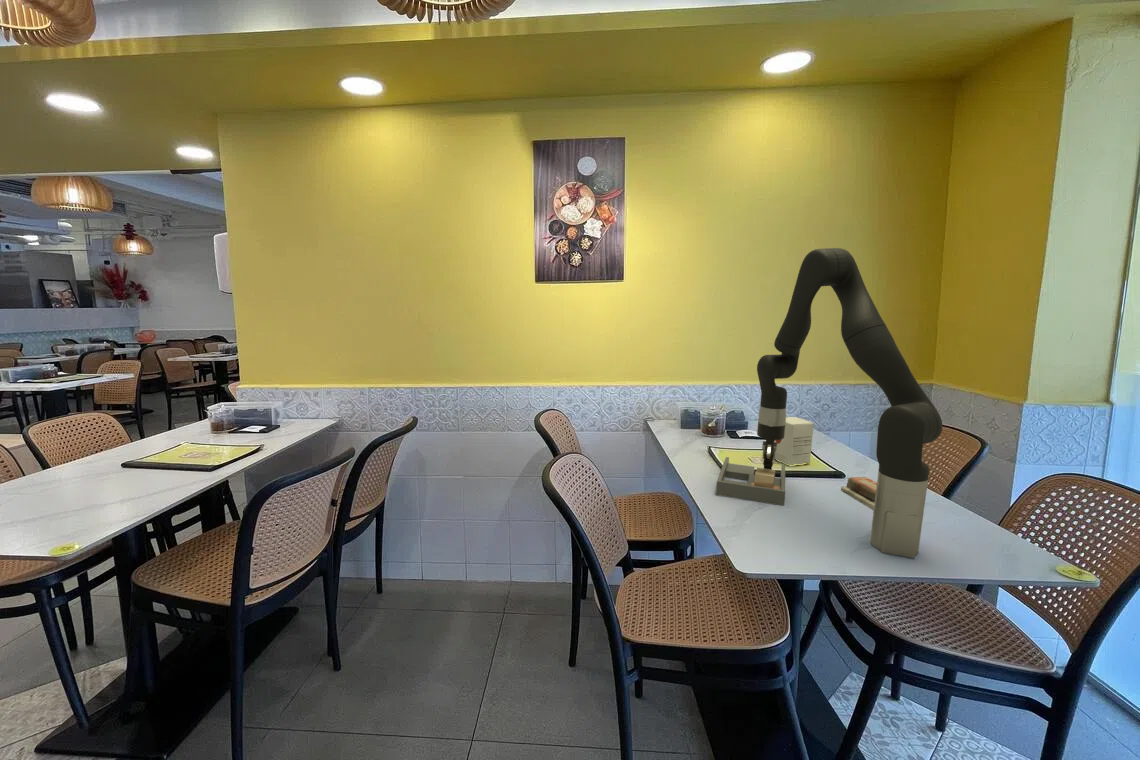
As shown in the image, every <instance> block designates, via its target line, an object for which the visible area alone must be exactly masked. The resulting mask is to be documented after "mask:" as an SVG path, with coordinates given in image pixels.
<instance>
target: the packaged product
mask: <svg viewBox="0 0 1140 760" xmlns="http://www.w3.org/2000/svg"><path fill="white" fill-rule="evenodd" d="M876 487H877V481H875V480H873V479H872V478H869V477H865V476H855V477H848V479H847V482H846V486H844V485H843V486H841V487H840V491H841V492H843V493H845V494H846V495H848V496H850V497H852V499H854V500H857V502H859V503H861V504H862V503H863V504H862V505H864V506H866V507H867V506H868V507H867V508H869V509H871V510H873V511H874V503H875V495H876Z"/></svg>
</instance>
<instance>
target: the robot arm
mask: <svg viewBox="0 0 1140 760" xmlns="http://www.w3.org/2000/svg"><path fill="white" fill-rule="evenodd" d="M859 269H860V268H859V266H858V265H857V262H856V260H855V258H854V256H853V255H852V254H851V253H850V251H848V250H846V249H844V248H840V247H833V248H832V247H831V248H830V247H828V248H816V249H813V250H811V251H809V252H808V253H807V254H806V256H805V257H804V258H803V260H802V262H801V265H800V266H799V271H798V274H797V278H796V281H795V286H794V289H793V291H792V296H791V299H790V303H789V307H788V310H787V313H786V316H785V318H784V320H783V322H782V324H781V327H780V328H779V331H778V333H777V335H776V337H775V339H774V344H773V345H774V346H773V347H774V348H775V349H776V350H777V351H778V352H779V353H781V354H764V355H762V356H761V357H760V358H759V360H758V362H757V365H756V373H757V377H758V382H759V387H760V404H759V409H758V410H759V412H758V416H757V417H758V419H757V430H756V431H757V432H756V434H757V436H758V437H759V438H761V439H764V440H765V441H764V440H763V441H762V447H761V448H762V449H761V450H762V459H763V462H762V464H763V465H762V466H763V468H764V469H771V470H773V466H774V461H776V460H775V452H776V450H777V443H774V441H775V440H782V439H783V438H784V435H785V424H786V418H787V399H788V391H787V389H786V388H785V387H783V386H779V385H777V384H776V380H777V379H778V380H780V379H781V380H782V379H788V378H791V377H792V376H793V375H794V374H795V373H796V371H797V370H798V363H799V358H800V355H801V354H800V353H801V349H802V347H803V345H804V343H805V341H806V339H807V337H808V335H809V332H810V330H811V326H812V313H811V312H812V304H813V301H814V299H815V297H816V295H817V293H818V292H819V291H820V289H821V287H831V288H832V290H833V291H834V293H835V295H836V297H837V298H838V301H839V303H840V306H841V311H842V312H841V323H840V327H841V328H840V334H841V337H842V340H843V342H844V345H845V347H846V349H847V350H848V352H849V354H850V357H851V358H852V360H853V361H854V363H855V364H856V365H857V367H859V369H861V371H863V373H865V374H866V375H867V377H869V378H871V379H872V381H873V382H875V383H876V385H878V387H879V388H880V389H881V391H882V392H883V393H884V394H885V396H886V398H887V400H888V402H889V404H890V407H888V408H886V409H885V410H884V411H883V412H882V414H881V415H880V417H879V420H878V426H877V436H876V437H877V439H876V449H875V450H876V459H877V460H876V461H877V462H878V471H877V480H876V482H877V487H876V495H875V503H874V510H873V513H872V520H871V521H872V522H871V530H870V543H871V544H872V546H874V547H875V548H876V549H878V550H880V552H881V553H883V554H890V555H895V556H899V557H906V558H911V559H915V556H916V555H918V553H919V549H920V541H921V534H922V526H923V521H924V514H925V513H924V511H925V505H926V498H927V497H926V496H927V491H928V484H929V477H930V467H929V465H928V464H926V463H925V462H923V459H922V458H923V448H924V447H923V445H925V444H929V443H933V442H934V441H936V440H938V439H939V438H940V436H941V433H942V431H943V420H942V417H941V415H940V413H939V411H938V410H937V408H936V406H935V405H934V404H933V403H932V401H931V400H930V398H929V396H928V395H927V394H926V392H925V391H924V390H923V387H921V385H920V383H918V381H917V379H916V378H915V376H914V374H913V373H912V371H911V370H910V367H909V365H908V363H907V361H906V359H905V358H904V356H903V355H902V353H901V351H900V349H899V348H898V347H899V346H897V344H896V341H895V340H894V337H893V335H892V333H891V332H890V330H889V328H888V326H887V323H885V321H884V320H883V317H882V316H881V315H880V312H879V311H878V309H877V307H876V304H875V303H874V300H873V299H872V297H871V295H870V293H869V292H868V290H867V287H866V285H865V282H864V280H863V278H862V274H861V272H860V270H859Z"/></svg>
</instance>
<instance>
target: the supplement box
mask: <svg viewBox="0 0 1140 760" xmlns="http://www.w3.org/2000/svg"><path fill="white" fill-rule="evenodd" d="M814 425H815V423H814V422H812V421H809V420H806V419H803V418H799V417H796V416H791V417H787V416H786V424H785V435H784V438H783V439H782V440H775V441H774V443H777V450H776V452H775V459H777V460H779V461H782V462H784V463H786V464H789V465H794V464H803V463H810V464H811V456H812V455H811V454H812V445H813V436H814Z"/></svg>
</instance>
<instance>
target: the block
mask: <svg viewBox="0 0 1140 760" xmlns="http://www.w3.org/2000/svg"><path fill="white" fill-rule="evenodd" d="M754 475H755V482H754V486H759V487H766V488H772V489H773V487H774V481H775V478H776V469H772V470H771V469H764V467H756V470H755V472H754Z"/></svg>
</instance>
